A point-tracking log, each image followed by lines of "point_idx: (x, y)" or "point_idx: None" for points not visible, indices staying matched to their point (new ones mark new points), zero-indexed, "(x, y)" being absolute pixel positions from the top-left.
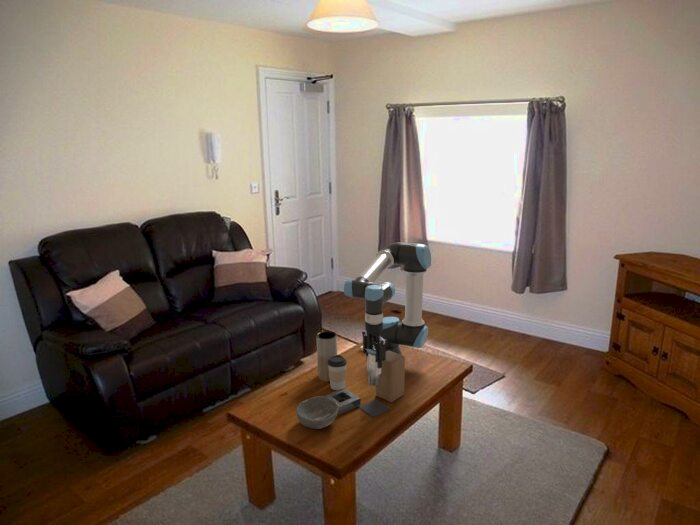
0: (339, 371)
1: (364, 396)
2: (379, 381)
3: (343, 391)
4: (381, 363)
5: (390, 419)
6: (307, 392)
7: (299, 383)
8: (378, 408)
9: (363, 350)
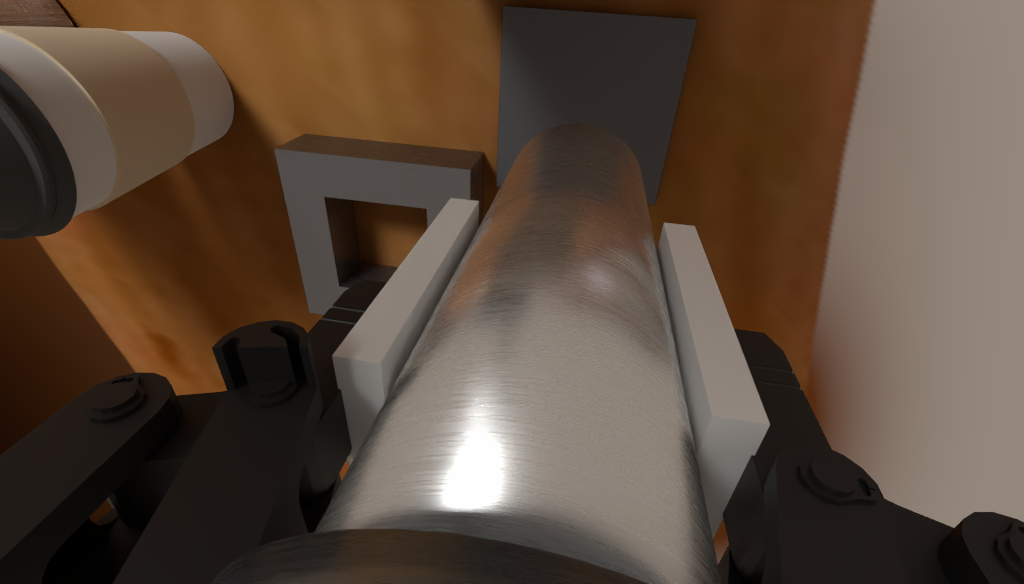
0: (114, 167)
1: (405, 36)
2: (634, 161)
3: (319, 191)
4: (807, 424)
5: (777, 132)
6: (189, 271)
7: (77, 239)
8: (619, 100)
9: (133, 539)
